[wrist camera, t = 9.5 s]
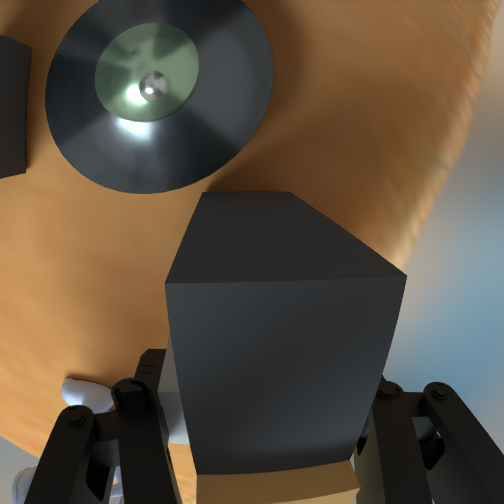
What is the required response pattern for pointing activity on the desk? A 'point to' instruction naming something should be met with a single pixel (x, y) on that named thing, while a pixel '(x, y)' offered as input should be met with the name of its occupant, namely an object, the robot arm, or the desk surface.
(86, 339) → the desk surface
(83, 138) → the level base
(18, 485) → the toy figurine
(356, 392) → the dark grey block
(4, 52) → the grey tan block
